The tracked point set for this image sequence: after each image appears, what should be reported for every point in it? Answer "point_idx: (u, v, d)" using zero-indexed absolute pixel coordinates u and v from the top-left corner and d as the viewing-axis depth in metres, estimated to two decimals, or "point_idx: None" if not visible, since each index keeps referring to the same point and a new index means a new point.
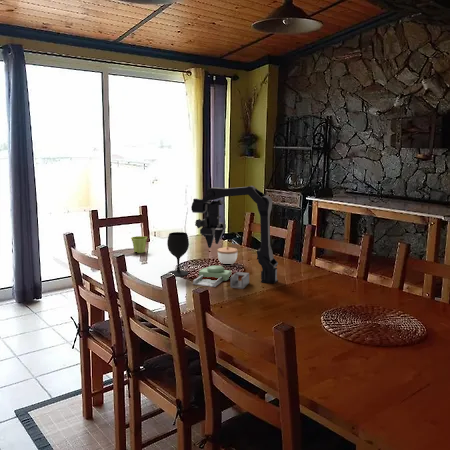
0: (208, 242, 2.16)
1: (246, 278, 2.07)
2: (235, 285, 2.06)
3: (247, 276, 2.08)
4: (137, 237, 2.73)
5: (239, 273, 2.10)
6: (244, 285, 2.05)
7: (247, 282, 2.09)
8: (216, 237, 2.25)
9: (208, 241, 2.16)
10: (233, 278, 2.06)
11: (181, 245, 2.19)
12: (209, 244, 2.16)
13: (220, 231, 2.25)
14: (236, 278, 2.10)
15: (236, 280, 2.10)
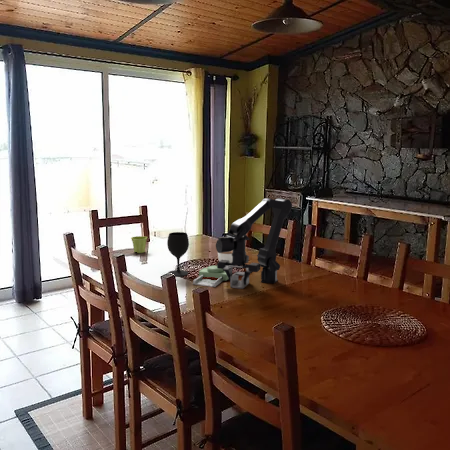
0: None
1: None
2: (235, 284, 2.06)
3: None
4: (137, 237, 2.73)
5: (239, 273, 2.10)
6: (244, 285, 2.05)
7: (247, 282, 2.09)
8: None
9: None
10: (233, 278, 2.06)
11: (181, 245, 2.19)
12: None
13: None
14: (236, 278, 2.10)
15: (236, 280, 2.10)
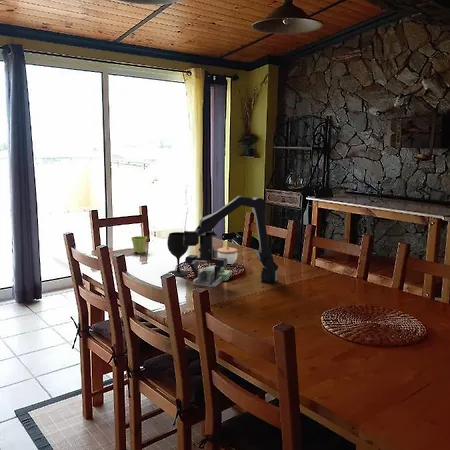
0: None
1: None
2: (203, 281, 2.10)
3: None
4: (137, 237, 2.73)
5: (207, 269, 2.13)
6: (211, 281, 2.08)
7: None
8: None
9: None
10: (201, 274, 2.10)
11: (181, 245, 2.19)
12: None
13: None
14: (204, 274, 2.14)
15: (204, 276, 2.14)
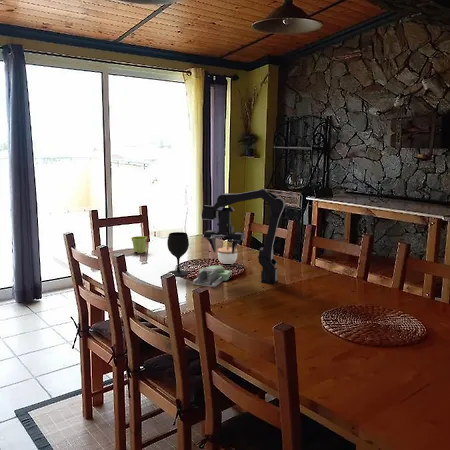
0: None
1: (214, 274, 2.11)
2: (203, 281, 2.10)
3: (215, 272, 2.12)
4: (137, 237, 2.73)
5: (207, 269, 2.13)
6: (211, 281, 2.08)
7: (215, 278, 2.13)
8: None
9: None
10: (201, 274, 2.10)
11: (181, 245, 2.19)
12: None
13: None
14: (204, 274, 2.14)
15: (204, 276, 2.14)
